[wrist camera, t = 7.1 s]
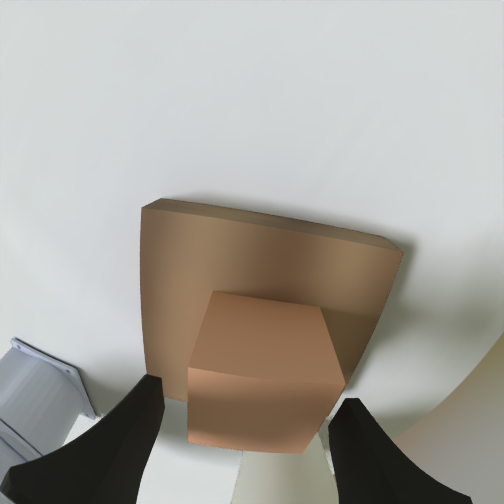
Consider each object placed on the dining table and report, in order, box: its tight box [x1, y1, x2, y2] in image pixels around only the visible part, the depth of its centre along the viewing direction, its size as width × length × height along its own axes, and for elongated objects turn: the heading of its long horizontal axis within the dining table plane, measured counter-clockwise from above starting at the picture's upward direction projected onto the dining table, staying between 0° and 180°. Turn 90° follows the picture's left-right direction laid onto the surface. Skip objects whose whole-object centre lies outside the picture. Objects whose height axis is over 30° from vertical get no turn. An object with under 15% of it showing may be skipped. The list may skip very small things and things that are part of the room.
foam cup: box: [230, 433, 339, 504], centre depth 14 cm, size 10×9×13 cm
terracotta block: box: [188, 291, 345, 454], centre depth 11 cm, size 5×5×5 cm
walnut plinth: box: [140, 198, 403, 416], centre depth 15 cm, size 12×12×3 cm
